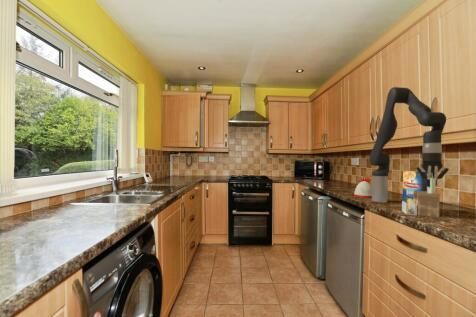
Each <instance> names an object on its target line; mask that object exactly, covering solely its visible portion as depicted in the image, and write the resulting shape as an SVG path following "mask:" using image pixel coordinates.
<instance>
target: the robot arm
mask: <svg viewBox="0 0 476 317" xmlns="http://www.w3.org/2000/svg"><path fill="white" fill-rule="evenodd" d="M396 104H404V105H405V104H406V105H407V106H408V107H407V108H408V111H409V112H410V113H411V114H412V115H413V116H415V118H416V120H417V122H418V124H419V125H421V126H423V127H431V130H429V131H428V130H427V131H424V132H423V135H422V148H421V149H422V150H421V152H422V153H421V154H422V156H421V164H420V166H417V167H415V171H417V172H418V173H419V174H420V176H421V177H422V178H425V179H426V186H428V187H430V175H431V172H432V178H435V179H436V187H437V186H438V180H442V179H443V177H444V176H446V174H447V173H448V172H449V169H450V168H448V167H445V166H444V164H443V163H442V161H443V158H442V156H443V154H442V153H443V148H442V146H443V145H442V134H443V131H444V129H445V125H446V123H447V116H446V115H445V113H443V112H441V111H433V112H432V109H431V107H430V106H428V105H426V103H424V102H423V101H421V100H420V99H419V98H418V96H416V94H414V92H413V91H412V90H411V89H410V88H408V87H397V86H394V87H391V88H390V89H389V91H388V92H387V96H386V100H385V105H384V112H383V115H382V119H381V122H380V124H379V128H378V132H377V136H376V138H375V142H374V144H373V148H372V150H371V152H370V155H369V162H368V163H369V164H370V166H374V167H378V168H377V169H375V170H373V171H371V172H372V173H371V186H372V198H371V201H372V202H374V203H388V196H389V195H388V194H389V193H388V192H389V191H388V190H389V173H390V166H391V165H390V164H391V157H390V154H389V153H388V152H385V151H384V152H382V151H383V148H384V147H385V146H386V145H387V144H388V143H389V142H390V141H391V140H392V139H393V138H394V137H395V135H396V132H397V128H398V122H397V119H396V118H397V117H396V116H395V105H396ZM423 170H424V171H423ZM422 171H423V172H426V176H425V175H424V174H423V172H422Z"/></svg>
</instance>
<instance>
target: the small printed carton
mask: <svg viewBox="0 0 476 317" xmlns="http://www.w3.org/2000/svg"><path fill="white" fill-rule="evenodd" d="M401 211H402V213H404V214H405V215H408V216H409V215H410V216H418V215H417V205H416V204H415V203H413V202H410V209H408V204H407V203H406V202H404V201H403V200H402V201H401Z"/></svg>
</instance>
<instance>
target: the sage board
mask: <svg viewBox="0 0 476 317" xmlns="http://www.w3.org/2000/svg"><path fill="white" fill-rule="evenodd" d="M436 187H437V186H436V179H435V178H433V177H432V178H430V187H428V186H427V193H432V194H436V189H437V188H436Z"/></svg>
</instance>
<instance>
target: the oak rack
mask: <svg viewBox="0 0 476 317" xmlns="http://www.w3.org/2000/svg"><path fill="white" fill-rule="evenodd" d="M417 197H418V198H417ZM413 203H415V204H416V205H417V215H416V216H421V217H423V216H424V217H434V218H440V193H435V194H432V193H427V191H413Z"/></svg>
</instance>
